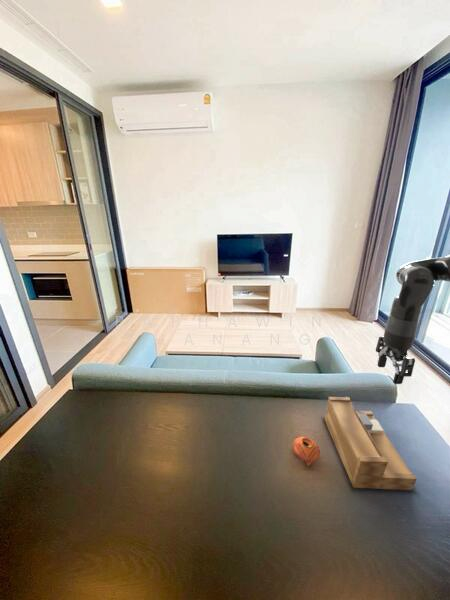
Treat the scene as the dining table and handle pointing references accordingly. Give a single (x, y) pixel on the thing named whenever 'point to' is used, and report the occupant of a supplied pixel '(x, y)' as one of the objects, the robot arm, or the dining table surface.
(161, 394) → the dining table surface
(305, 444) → the pot
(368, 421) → the block chair shape
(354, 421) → the stepped wooden ledge
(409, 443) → the dining table surface
